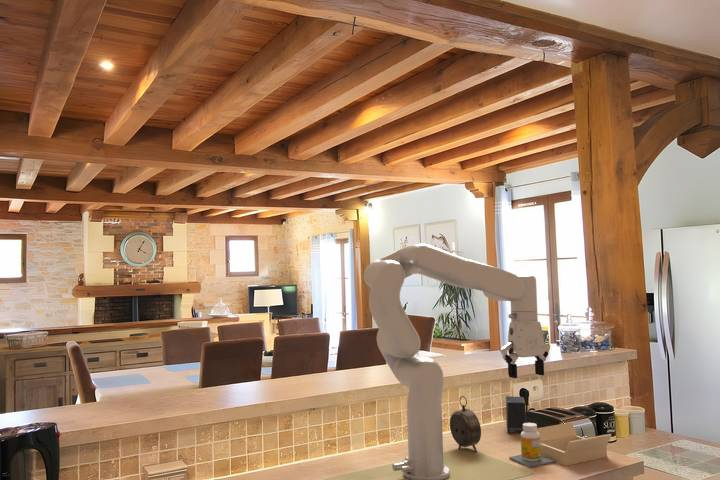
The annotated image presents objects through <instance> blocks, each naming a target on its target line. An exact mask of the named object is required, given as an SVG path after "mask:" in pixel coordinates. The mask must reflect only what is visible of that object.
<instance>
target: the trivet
mask: <svg viewBox="0 0 720 480" xmlns="http://www.w3.org/2000/svg"><path fill="white" fill-rule="evenodd" d="M508 460H511V461H512V462H515V463H516V464H517V463H518V464H520V465H522V466H525V467H526V468H529V469H531V468H536V467H541V466H546V465H551V464H555V463H556V462H555V460H552V459H550V458H547V457H544V456H542V455H541V459H540V460H539V461H526V460H524V459H522V455H521V454H518V455H513V456H512V455H511V456H509V458H508Z"/></svg>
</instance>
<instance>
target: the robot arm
mask: <svg viewBox="0 0 720 480" xmlns="http://www.w3.org/2000/svg"><path fill="white" fill-rule="evenodd" d="M416 274H417V275H423V276H425V277H427V278H430V279H433V280H436V281H439V282H442V283H445V284H447V285H449V286H453V287H456V288H461V289H469V290H475V291H480V292H482V294H483V295H484V296H485V297H486V298H487V299H489V300H492V301H498V302H499V301H501V302H502V301H504V302H510V313H509V314H508V318H509V319H510V320H511V321H510V322H509V325H508V333H507V334H508V335H507V343H506V344H505V345H504V346H502V347H501V348H499V352H500V354H501V357H502V359H503V360H504V361H505V363H506V364H507V372H508V377H509V378H513V379H517V378H518V365H517V363H516V362H517V361H518V359H519V358H530V357H531V358H532V357H534V358H535V360H534V368H535V371H534V373H535V375H539V376H545V362H546V359H547V357H548V355H549V351H550V349H551V345H550V344H548V343H546V342H545V339H544V332H543V327H542V324H541V321H538V320H539V319H538V318H539V316H538V315H539V314H538V296H537V295H538V293H537V279H536V276H534V275H531V274H520V275H519V274H514V273H512V272H510V271H507V270H505V269H502V268H499V267H497V266H492V265H489V264H485V263H481V262H478V261H475V260H472V259H468V258H465V257H462V256H459V255H457V254H453V253H451V252H448V251H446V250H444V249H441V248H439V247H435V246H433V245H431V244H427V243H416V244H409V245H406V246H404V247H402V248H399V249H398V250H395V251H394V252H392V253H389V254H387V255H385V256H381V258H379V259H376V260H374V261H372V262H370V263H369V264H368V265H367V266H366V268H365V270H364V273H363V279H364V282H365V284H366V286H368V287H369V288H370V291H369V296H368V308H369V311H370V314H371V316H372V318H373V320H374V322H375V324H376V326H377V328H378V330H377V334H376V343H377V348H378V350H379V351H380V353H381V355H382V357H383V359H384V360H385V362H386V363H387V365H388V367H389V370H390V371H391V372H392V373H393V375H394V377H395V378H396V380H397V381H398V382H399V383H400V384H402V385H403V386H405V387H408V394H407V398H406V400H407V401H406V424H407V451H408V456H405V457H404V460H403V461H402V462H396V463H393V464H392V465H391V466H392V470H393V471H394V472H397V471H401V472H402V473H403V476H404V477H405V478H407V479H409V480H445V479H447V478H449V476H450V474H451V472H450V468H449V467H448V466H447V465H445V464H444V463H445V462H444V437H443V436H444V435H443V416H442V415H443V412H442V411H443V410H442V407H443V406H442V398H443V397H442V396H443V395H442V394H443V387H444V372H443V369H442V367H441V366H440V364H439V363H438V362H437V361H436V360H435V359H433V358H431V357H428V356H425V355H420V354H419V351H420V349H421V344H422V343H421V342H422V341H421V337H420V336H419V333H418V331H417V329H416V328H415V327H414V325H413V323H412V321H411V319H410V318H409V316H408V315H407V313H406V311H405V309H404V307H403V304H402V303H401V297H400V296H401V291H402V287H403V285H404V282H405V279H407V278H408V277H410V276H412V275H416Z"/></svg>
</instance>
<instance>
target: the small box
mask: <svg viewBox="0 0 720 480" xmlns="http://www.w3.org/2000/svg"><path fill="white" fill-rule="evenodd" d="M505 408H506V409H505V413H506V414H505V417H506V418H505V419H506V432H507V434H520V435H521V432H522V431H524V430H523V424H524V423H527V413H526V412H527V411H526V408H527V407H526V401H525V399H524V397H523V396H513V395H512V396H510V395H508V396H505Z"/></svg>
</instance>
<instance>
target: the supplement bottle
mask: <svg viewBox="0 0 720 480" xmlns="http://www.w3.org/2000/svg"><path fill="white" fill-rule="evenodd" d="M537 428H538V425H537V423H535V422H526V423H524V424H523V430H524V431H522V432H521V434H520V447H521V448H520V449H521V450H520V451H521V454H520V455H522V459H524V460H526V461H539V460H540V459H541V446H540V434H539V433H538V432H537V431H536V430H537Z"/></svg>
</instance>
